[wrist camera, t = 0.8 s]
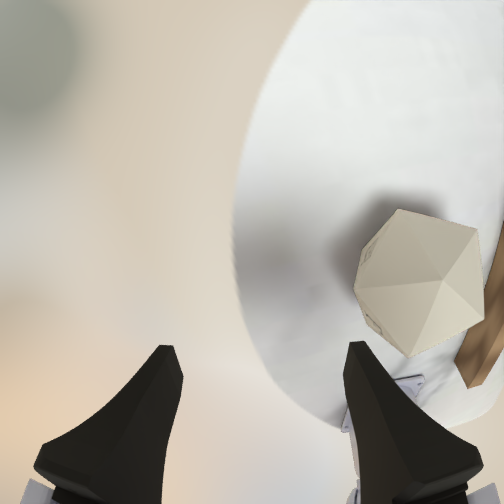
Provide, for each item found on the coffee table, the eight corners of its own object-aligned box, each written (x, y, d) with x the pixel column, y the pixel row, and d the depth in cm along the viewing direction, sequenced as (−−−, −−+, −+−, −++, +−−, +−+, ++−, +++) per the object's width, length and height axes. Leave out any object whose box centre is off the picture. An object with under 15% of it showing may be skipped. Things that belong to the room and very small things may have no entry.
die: (354, 177, 18) (317, 321, 14) (486, 176, 13) (499, 339, 9) (376, 252, 24) (349, 365, 19) (475, 256, 19) (467, 380, 14)
